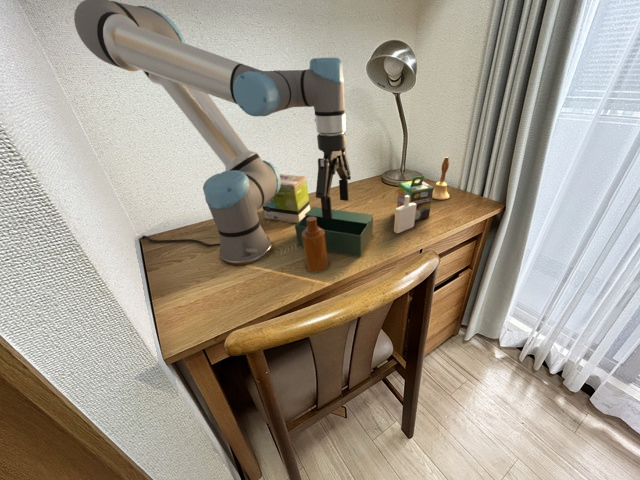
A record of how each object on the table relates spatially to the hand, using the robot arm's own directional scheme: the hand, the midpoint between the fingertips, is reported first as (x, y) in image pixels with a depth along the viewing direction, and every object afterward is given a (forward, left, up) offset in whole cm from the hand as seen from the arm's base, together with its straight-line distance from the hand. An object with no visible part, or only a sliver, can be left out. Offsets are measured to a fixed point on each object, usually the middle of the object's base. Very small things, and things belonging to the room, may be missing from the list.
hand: (336, 208), depth 81 cm
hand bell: (+28, +45, -11) cm, 54 cm away
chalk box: (+20, +24, -11) cm, 33 cm away
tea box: (-25, +10, -11) cm, 29 cm away
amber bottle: (0, -16, -11) cm, 19 cm away
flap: (0, +1, -3) cm, 3 cm away
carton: (0, -2, -11) cm, 11 cm away
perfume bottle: (+19, +12, -11) cm, 25 cm away
